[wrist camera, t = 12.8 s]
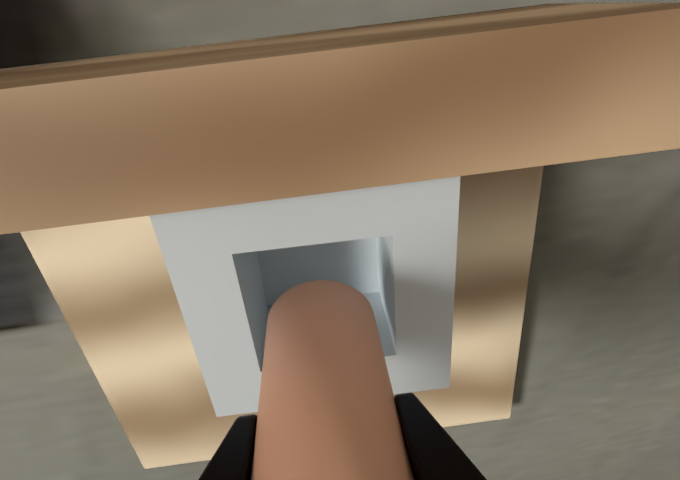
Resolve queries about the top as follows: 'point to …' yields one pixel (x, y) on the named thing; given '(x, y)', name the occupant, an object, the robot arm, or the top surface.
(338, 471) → the dowel
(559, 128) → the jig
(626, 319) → the top surface
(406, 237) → the block
